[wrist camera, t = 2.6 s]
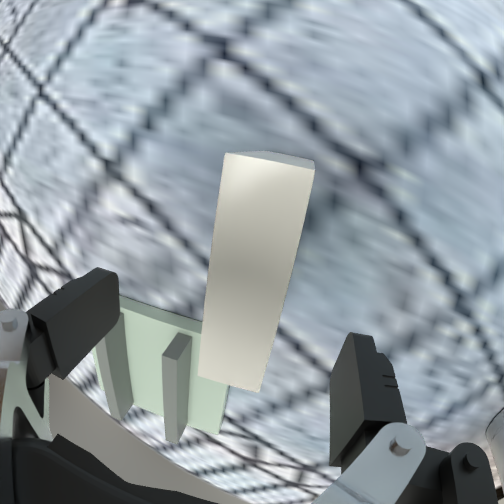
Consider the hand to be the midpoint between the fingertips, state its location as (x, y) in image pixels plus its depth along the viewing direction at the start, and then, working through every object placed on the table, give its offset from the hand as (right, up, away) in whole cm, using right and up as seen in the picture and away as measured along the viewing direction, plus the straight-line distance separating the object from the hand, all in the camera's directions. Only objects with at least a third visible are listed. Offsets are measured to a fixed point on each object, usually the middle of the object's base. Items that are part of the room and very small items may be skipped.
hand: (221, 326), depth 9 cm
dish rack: (-8, -8, +16) cm, 20 cm away
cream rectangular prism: (+2, +4, +10) cm, 11 cm away
